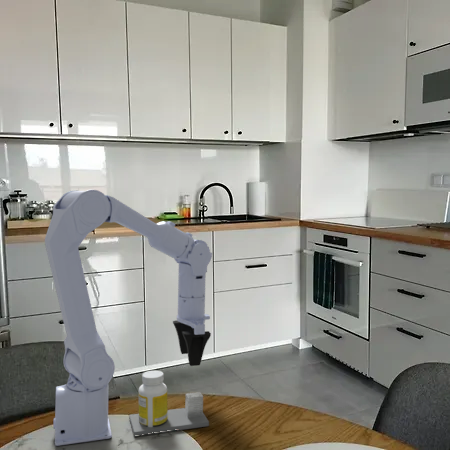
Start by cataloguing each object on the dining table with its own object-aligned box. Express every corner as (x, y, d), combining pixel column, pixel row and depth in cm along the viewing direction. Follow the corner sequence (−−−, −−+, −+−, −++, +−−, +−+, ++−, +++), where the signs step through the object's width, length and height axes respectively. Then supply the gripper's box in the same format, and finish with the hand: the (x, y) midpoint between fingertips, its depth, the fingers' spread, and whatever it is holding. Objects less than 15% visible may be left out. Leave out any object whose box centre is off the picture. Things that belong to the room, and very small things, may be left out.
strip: (134, 436, 81) (134, 410, 81) (129, 418, 87) (129, 394, 87) (208, 425, 85) (209, 401, 85) (198, 409, 92) (199, 386, 92)
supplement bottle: (170, 418, 88) (170, 369, 88) (163, 432, 83) (163, 380, 82) (143, 417, 88) (142, 368, 88) (135, 431, 83) (134, 379, 83)
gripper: (220, 301, 90) (218, 369, 90) (200, 288, 103) (199, 347, 104) (185, 303, 87) (184, 372, 88) (170, 289, 101) (169, 349, 102)
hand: (190, 359), depth 96 cm, fingers open, 7 cm apart
